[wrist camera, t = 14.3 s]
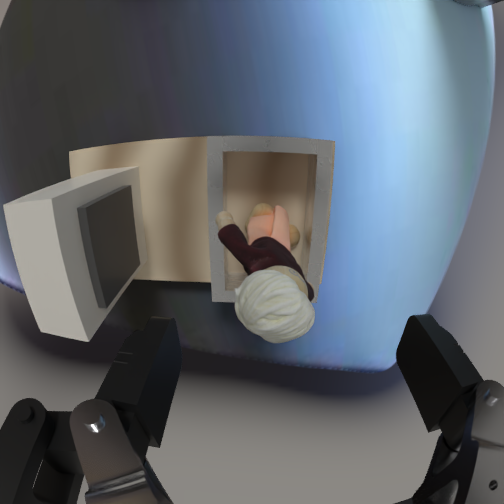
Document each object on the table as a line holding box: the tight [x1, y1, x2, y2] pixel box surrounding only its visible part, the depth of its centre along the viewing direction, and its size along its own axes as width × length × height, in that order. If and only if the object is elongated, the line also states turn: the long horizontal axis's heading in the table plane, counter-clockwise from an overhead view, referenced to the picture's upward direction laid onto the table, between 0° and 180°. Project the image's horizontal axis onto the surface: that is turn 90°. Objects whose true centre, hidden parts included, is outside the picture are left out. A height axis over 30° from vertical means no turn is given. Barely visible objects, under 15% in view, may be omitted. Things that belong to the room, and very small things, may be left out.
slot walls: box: [207, 136, 333, 303], centre depth 20 cm, size 8×12×3 cm, turn 179°
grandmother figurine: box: [215, 203, 315, 343], centre depth 16 cm, size 8×4×13 cm, turn 59°
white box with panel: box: [3, 166, 148, 342], centre depth 17 cm, size 5×8×11 cm, turn 179°
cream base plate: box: [69, 137, 335, 284], centre depth 22 cm, size 22×12×2 cm, turn 89°
